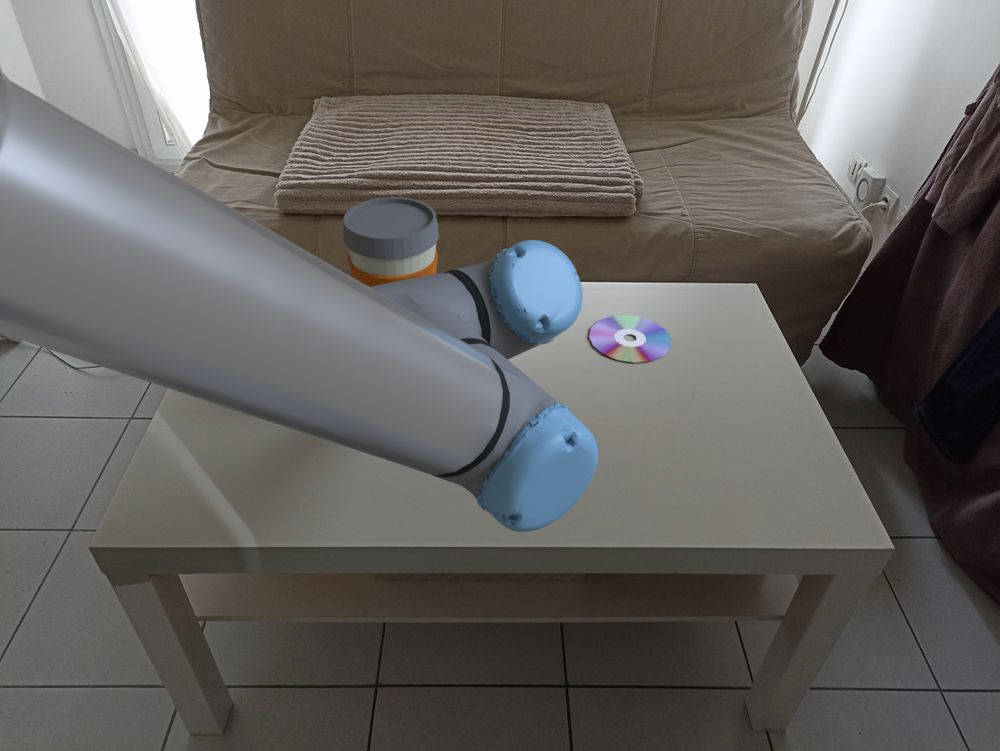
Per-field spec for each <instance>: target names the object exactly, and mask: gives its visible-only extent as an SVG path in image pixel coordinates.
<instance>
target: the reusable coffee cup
mask: <svg viewBox="0 0 1000 751" xmlns="http://www.w3.org/2000/svg"><path fill="white" fill-rule="evenodd" d="M342 225H343V227H342V231H343V236H342V237H343V238H342V239H343V242H344V243H343V244H344V245H345V247H346V248H347V249H348V256H347V261H348V266H349V268H350V273H351V277H353V278H354V279H356V280H358V281H360V282H361V283H363V284H365V285H366V286H369V287H372V286H377V285H382V284H387V283H392V282H397V281H402V280H407V279H412V278H417V277H422V276H427V275H432V274H437V270H438V259H439V254H438V253H439V252H438V249H437V242H438V241H439V238H440V231H439V224H438V219H437V214H436V211H435V209H434V208H433V207H432V206H431V205H429V204H427V203H425V202H423V201H421V200H418V199H413V198H408V197H400V196H389V197H387V196H386V197H377V198H372V199H369V200H364V201H362V202H359V203H357V204H355V205H353V206H352V207H350V208H349V209H348V210H347V211H346V212H345V213H344V215H343V219H342Z"/></svg>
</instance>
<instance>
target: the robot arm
mask: <svg viewBox="0 0 1000 751" xmlns="http://www.w3.org/2000/svg"><path fill="white" fill-rule="evenodd" d="M583 294H584V292H583V287H582V283H581V280H580V275H578V271H577V269H576V267H575V265H574V264H573V263H572V261H571V259H570V258H569V257H568V256H567V255H566V254H565V253H564V252H563V251H562V250H560V249H559V248H558V247H556V246H555V245H553V244H551V243H548V242H546V241H543V240H537V239H528V240H522V241H519V242H517V243H515V244H514V245H512V246H510V247H508V248H503V249H501V250H500V251H499V253H496V254H495V255H494V256H493V258H492V259H490V260H488V261H484V262H481V263H476V264H472V265H467V266H463V267H458V268H452V269H449V270H447V271H442V272H438V273H437V272H436V274H432V275H427V276H422V277H417V278H412V279H407V280H402V281H397V282H392V283H387V284H382V285H377V286H372V287H369V286H366V285H365V284H363V283H361V282H360V281H358V280H356V279H354V278H353V277H352V275H349V274H347V273H346V272H344V271H343V270H340V269H339V268H337V267H335V266H334V265H332V264H330V263H328V262H326V261H325V260H323V259H321V258H319V257H318V256H316V255H315V254H312V253H311V252H309V251H307V250H306V249H305V248H302V247H300V246H299V245H297V244H295V243H294V242H292V241H291V240H288V239H286V238H285V237H283V236H281V235H279V234H278V233H277V232H275V231H273V230H271V229H269V228H267V227H266V226H264V225H262V224H260V223H258V221H255V220H253V219H252V218H250V217H248V216H247V215H246V214H245V215H244V213H241V212H240V211H238V210H236V209H235V208H232V207H231V206H229V205H228V204H226V203H225V202H223V201H221V200H219V199H217V198H215V197H214V196H212V195H210V194H208V193H207V192H205V191H203V190H201V189H199V188H198V187H196V186H194V185H193V184H192V183H189V182H187V181H186V180H184V179H182V178H181V177H179V176H177V175H175V174H174V173H172V172H170V171H168V170H167V169H165V168H163V167H161V166H160V165H158V164H156V163H155V162H153V161H151V160H149V159H148V158H146V157H144V156H143V155H140V154H139V153H137V152H136V151H134V150H132V149H130V148H129V147H127V146H125V145H123V144H122V143H121V142H118V141H116V140H115V139H113V138H111V137H110V136H107V135H106V134H104V133H103V132H100V131H99V130H98V129H96V128H94V127H92V126H90V125H88V124H87V123H85V122H83V121H81V120H80V119H78V118H76V117H75V116H73V115H72V114H69V113H68V112H66V111H64V110H62V109H61V108H59V107H57V106H55V105H54V104H52V103H50V102H49V101H47V100H45V99H43V98H41V97H40V96H38V95H37V94H35V93H33V92H31V91H29V90H28V89H26V88H24V87H22V86H21V85H20V84H18V83H16V82H14V81H12V80H11V79H9V77H8V76H7V75H6V74H5V73H4V71H3V69H2V66H1V65H0V334H1V335H4V336H7V337H10V338H13V339H17V340H19V341H23V342H24V343H25V342H26V343H28V344H32V345H35V346H37V347H41V348H44V349H47V350H50V351H53V352H56V353H59V354H62V355H65V356H68V357H71V358H74V359H78V360H81V361H84V362H86V363H90V364H93V365H96V366H99V367H102V368H105V369H108V370H111V371H114V372H116V373H120V374H123V375H126V376H129V377H131V378H136V379H138V380H142V381H144V382H146V383H150V384H153V385H157V386H159V387H163V388H166V389H169V390H172V391H175V392H178V393H181V394H184V395H187V396H190V397H193V398H196V399H199V400H202V401H205V402H208V403H212V404H215V405H217V406H219V407H224V408H227V409H230V410H233V411H236V412H238V413H242V414H245V415H248V416H251V417H254V418H257V419H260V420H263V421H267V422H270V423H272V424H276V425H277V426H281V427H284V428H287V429H290V430H293V431H297V432H299V433H303V434H306V435H309V436H312V437H314V438H318V439H322V440H323V441H327V442H330V443H333V444H336V445H338V446H339V445H340V446H342V447H344V448H345V447H346V448H349V449H351V450H355V451H356V452H357V451H358V452H360V453H364V454H367V455H370V456H372V457H376V458H379V459H382V460H385V461H388V462H391V463H394V464H397V465H399V466H403V467H406V468H409V469H412V470H415V471H419V472H421V473H424V474H427V475H430V476H432V477H436V478H438V479H441V480H443V481H447V482H450V483H452V484H456V485H458V486H459V487H462V488H464V489H465V490H467V491H468V492H469V493H470V494H472V495H473V497H474V498H475V499H476V501H477V503H478V506H479V507H481V509H482V510H483V511H486V512H488V513H489V515H491V516H492V517H493V518H494V519H495V520H496V521H497V522H499V524H501V525H502V526H503V527H505V528H506V529H509V530H510V531H512V532H513V531H514V532H519V533H528V532H533V531H537V530H540V529H543V528H545V527H547V526H550V525H551V524H553V523H554V522H556V521H558V520H559V519H560V518H562V517H563V516H564V515H565V514H566V513H568V512H569V511H570V510H571V509H572V508H573V507H574V506H575V505H576V504H577V502H578V500H579V499H580V498H581V496H583V494H584V493H585V492H586V490H587V489H588V487H589V486H590V484H591V482H592V480H593V477H594V475H595V473H596V470H597V467H598V460H599V448H598V447H599V446H598V445H597V444H598V443H597V441H596V438H595V436H594V435H593V433H592V431H590V430H589V428H588V427H587V426H585V425H584V423H583V422H581V421H580V420H579V419H578V418H577V417H576V416H575V415H574V414H573V413H572V412H571V411H570V407H569V406H568V405H567V404H565V403H562V402H559V401H558V400H557V399H556V398H554V397H553V396H552V395H551V394H550V393H548V392H547V391H546V390H545V389H544V388H542V387H541V386H540V385H539V384H538V383H536V381H534V380H533V379H532V378H531V377H529V376H528V375H527V374H525V373H524V372H523V371H522V370H521V369H519V368H518V367H517V366H516V365H515V364H514V363H512V362H511V361H510V360H511V359H512V358H514V357H516V356H519V355H521V354H523V353H525V352H527V351H529V350H532V349H534V348H536V347H539V346H542V345H545V344H549V343H551V342H553V341H554V339H555V338H557V336H559V335H561V334H562V333H564V332H565V331H567V330H568V329H570V328H571V327H572V326H573V325H574V324H575V322H576V321H577V319H578V317H579V314H580V313H581V310H582V306H583Z"/></svg>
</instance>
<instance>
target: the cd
mask: <svg viewBox="0 0 1000 751" xmlns="http://www.w3.org/2000/svg"><path fill="white" fill-rule="evenodd" d="M627 335H631V336H634V337H635V340H631V341H630V340H626V339H625V338H624V337H626V336H627ZM588 338H589V340H590V343H591V345H592V347H594V348H595V349H596V350H597V351H598V352H600V353H601V354H602V355H604V356H606V357H608V358H611V359H614V360H616V361H619V362H620V361H621V362H627V363H633V364H637V363H648V362H652V361H653V362H654V361H656V360H657V359H660V358H662V357H665V355H666V354H667V353H668V351H669V350H670V349H671V346H672V344H671V343H672V337H670V335H669V333H668V331H667V330H666V329H665V328H664V327H662V326H661V325H660V324H658V323H657V322H655V321H652V320H650V319H648V318H645V317H643V316H636V315H628V314H623V315H610V316H608V317H605V318H602V319H600V320H597V321H596V322H595V323H594V324H593V325H592V326H591V327H590V331H589V335H588Z"/></svg>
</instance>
